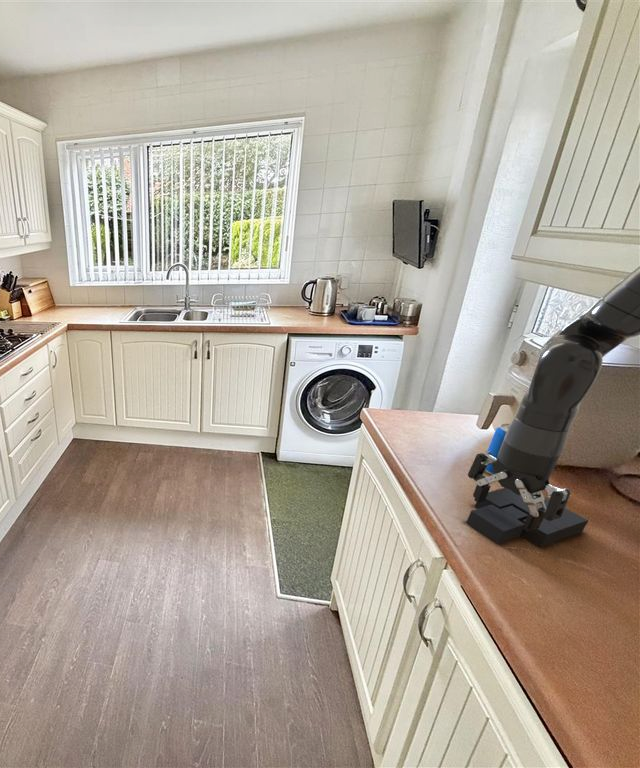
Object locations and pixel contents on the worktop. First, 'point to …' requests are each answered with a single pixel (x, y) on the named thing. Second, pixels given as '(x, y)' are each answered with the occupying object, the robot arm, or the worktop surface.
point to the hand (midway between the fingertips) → (502, 514)
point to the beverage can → (496, 444)
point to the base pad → (547, 530)
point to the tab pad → (498, 522)
